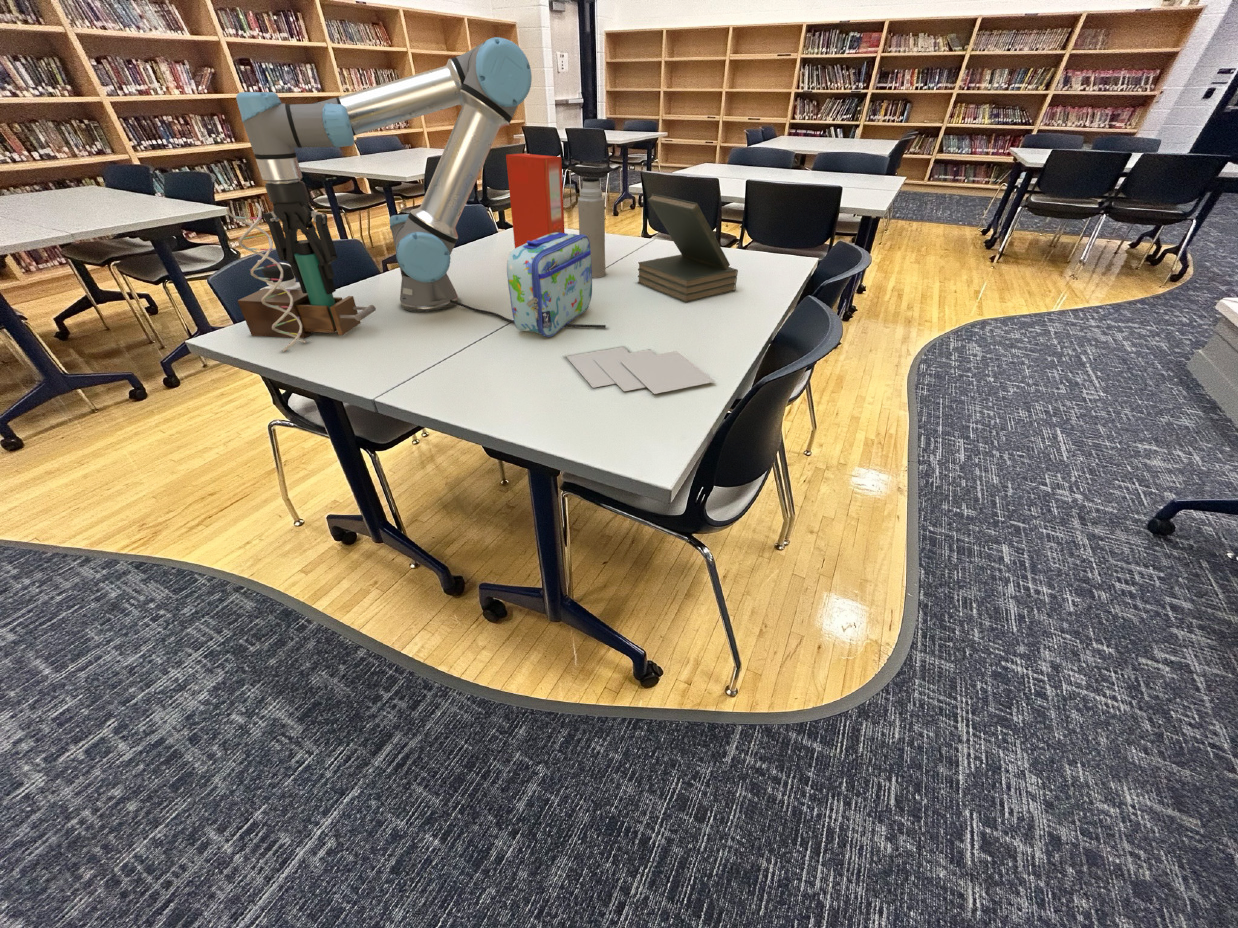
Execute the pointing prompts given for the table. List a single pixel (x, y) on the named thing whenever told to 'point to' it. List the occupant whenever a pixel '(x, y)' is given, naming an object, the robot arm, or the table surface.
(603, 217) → the thermos bottle
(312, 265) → the bottle
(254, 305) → the cabinet
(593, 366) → the paper stack
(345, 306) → the drawer
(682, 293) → the book stack
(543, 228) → the file binder
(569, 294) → the lunch box
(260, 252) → the dna model
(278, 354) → the table surface
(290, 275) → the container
